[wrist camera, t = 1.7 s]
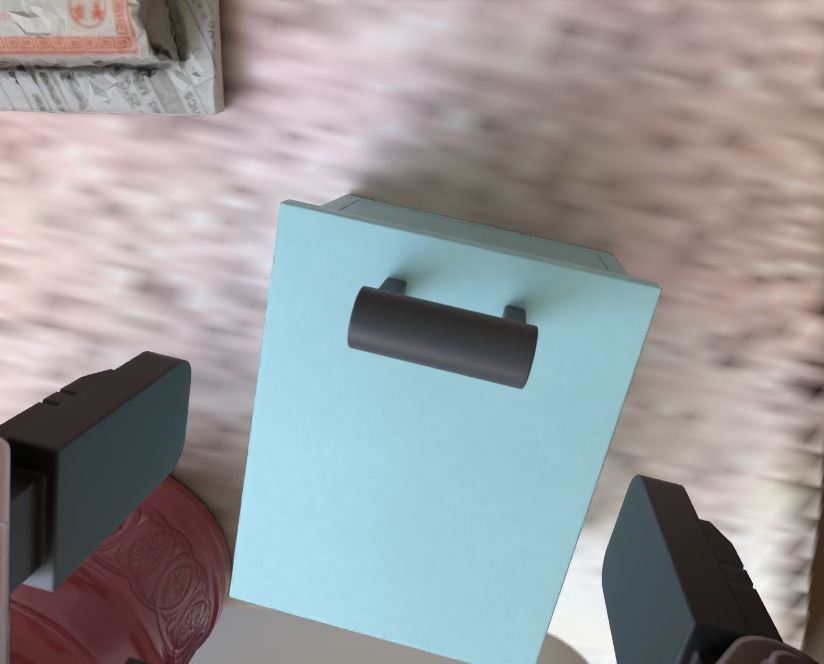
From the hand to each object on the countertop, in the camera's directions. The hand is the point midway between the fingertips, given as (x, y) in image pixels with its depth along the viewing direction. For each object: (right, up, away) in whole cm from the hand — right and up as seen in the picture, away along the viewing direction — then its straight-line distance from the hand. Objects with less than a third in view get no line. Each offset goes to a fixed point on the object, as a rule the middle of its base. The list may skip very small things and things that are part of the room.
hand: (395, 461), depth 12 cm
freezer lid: (+1, -2, +13) cm, 13 cm away
